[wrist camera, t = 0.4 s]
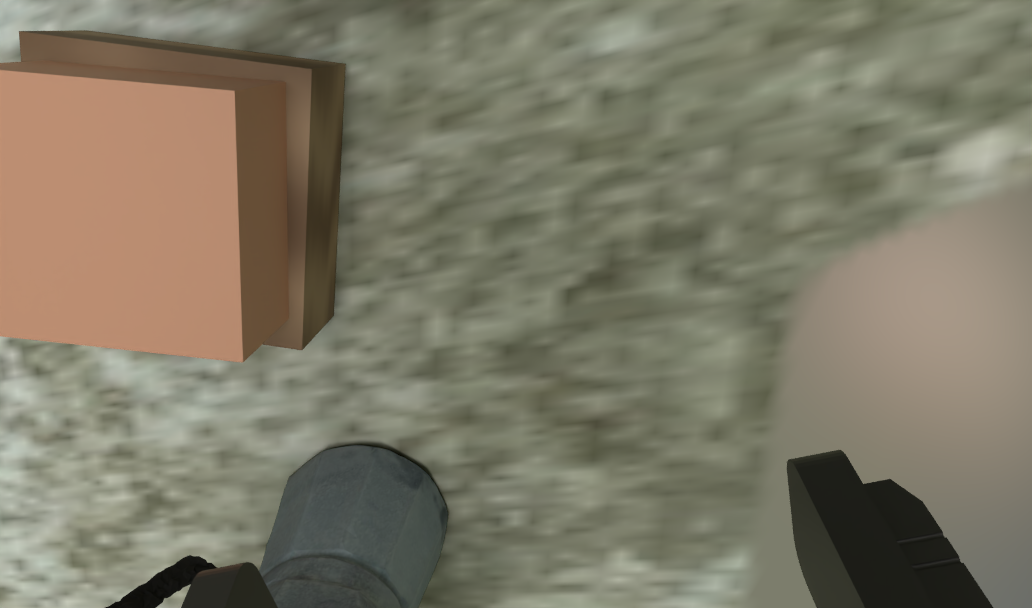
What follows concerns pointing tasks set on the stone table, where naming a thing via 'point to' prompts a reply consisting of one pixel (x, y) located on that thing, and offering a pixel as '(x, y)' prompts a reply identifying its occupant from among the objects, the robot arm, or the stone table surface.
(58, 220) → the tower top block
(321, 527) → the moka pot
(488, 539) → the stone table surface
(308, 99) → the tower base block
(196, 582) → the robot arm
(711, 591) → the stone table surface
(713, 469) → the stone table surface
